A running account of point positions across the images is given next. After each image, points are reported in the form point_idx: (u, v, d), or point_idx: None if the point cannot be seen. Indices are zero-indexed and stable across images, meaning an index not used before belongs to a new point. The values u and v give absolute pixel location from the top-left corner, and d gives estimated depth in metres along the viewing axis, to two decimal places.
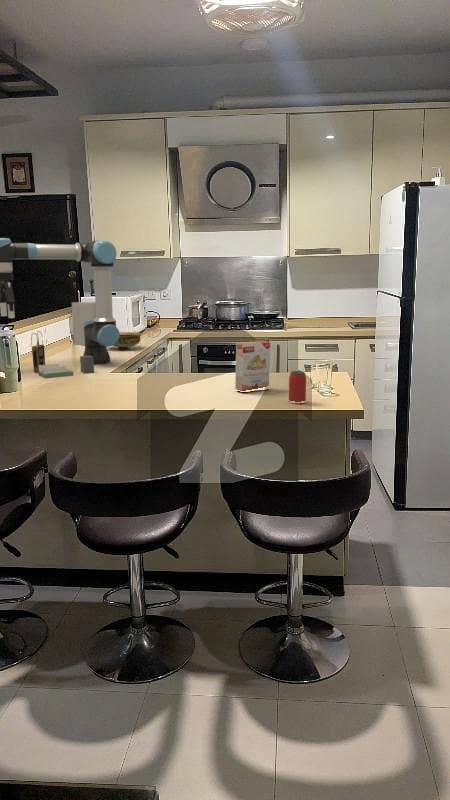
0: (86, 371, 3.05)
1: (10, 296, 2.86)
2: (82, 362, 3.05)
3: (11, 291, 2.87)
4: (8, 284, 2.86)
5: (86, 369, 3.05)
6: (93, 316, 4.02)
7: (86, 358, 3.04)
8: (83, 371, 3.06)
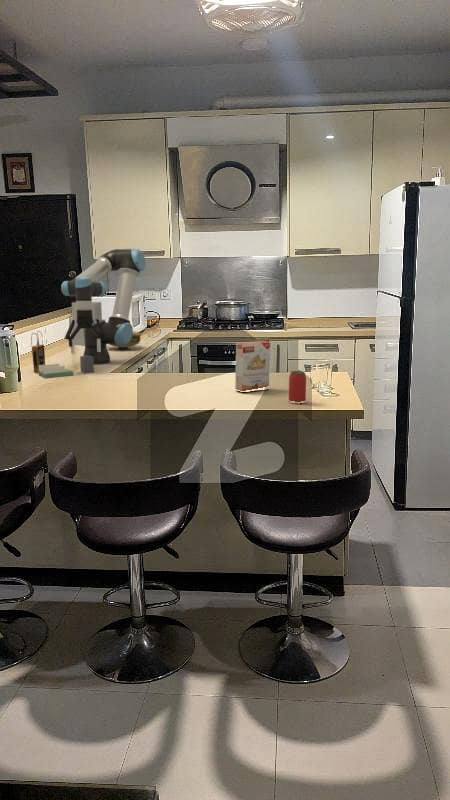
0: (86, 371, 3.05)
1: (67, 332, 2.99)
2: (82, 362, 3.05)
3: (69, 328, 2.98)
4: None
5: (86, 369, 3.05)
6: (93, 316, 4.02)
7: (86, 358, 3.04)
8: (83, 371, 3.06)
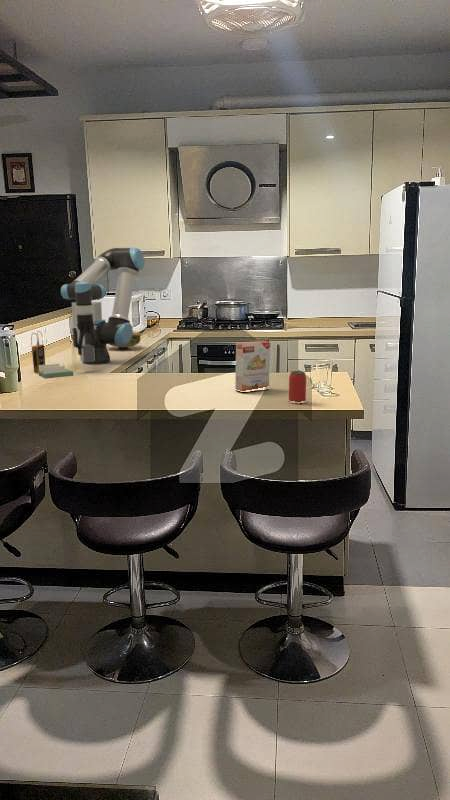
0: (86, 360, 3.04)
1: (74, 341, 3.02)
2: None
3: (74, 336, 3.01)
4: (72, 330, 3.01)
5: (87, 358, 3.04)
6: (93, 316, 4.02)
7: (86, 347, 3.03)
8: None
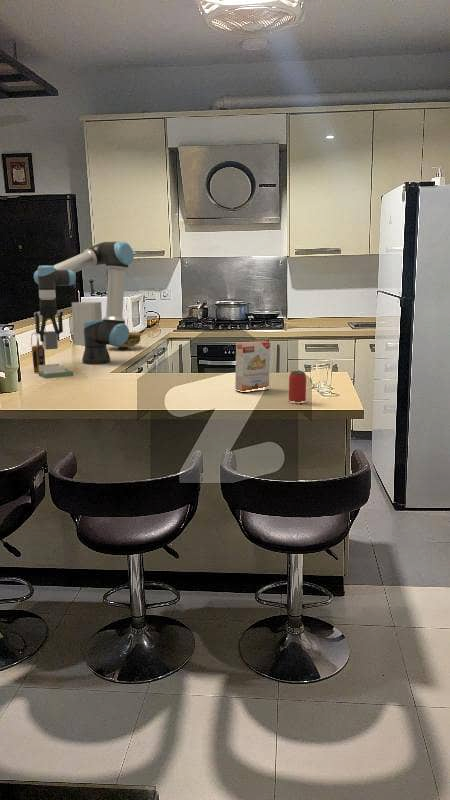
0: (49, 347, 2.92)
1: (36, 327, 2.90)
2: None
3: (36, 322, 2.89)
4: (34, 315, 2.89)
5: (49, 345, 2.92)
6: (93, 316, 4.02)
7: (48, 333, 2.91)
8: (46, 347, 2.93)
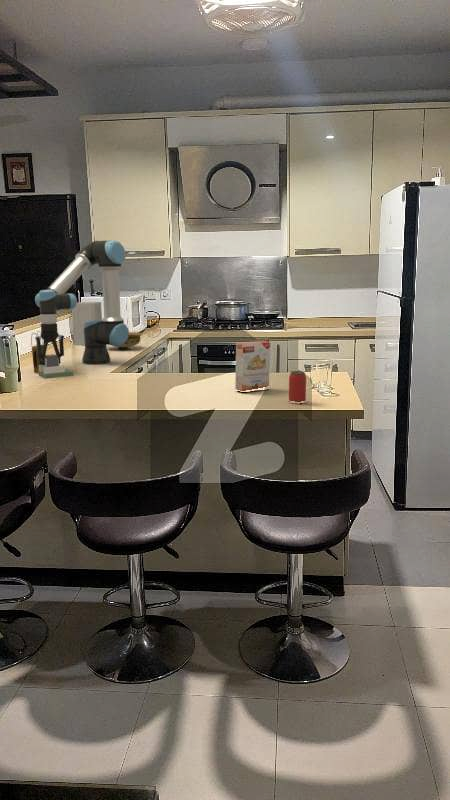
0: None
1: (37, 351, 2.93)
2: None
3: (37, 346, 2.91)
4: None
5: None
6: (93, 316, 4.02)
7: (50, 357, 2.93)
8: None
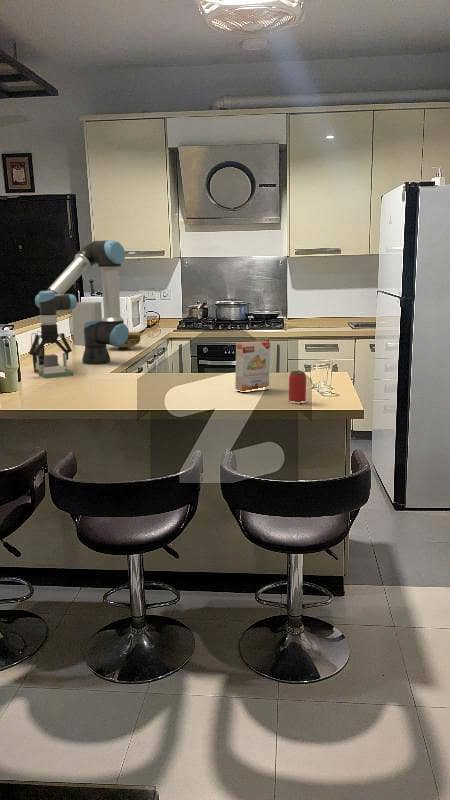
0: None
1: (31, 348, 2.91)
2: (46, 361, 2.95)
3: (33, 343, 2.90)
4: None
5: None
6: (93, 316, 4.02)
7: (50, 357, 2.93)
8: None
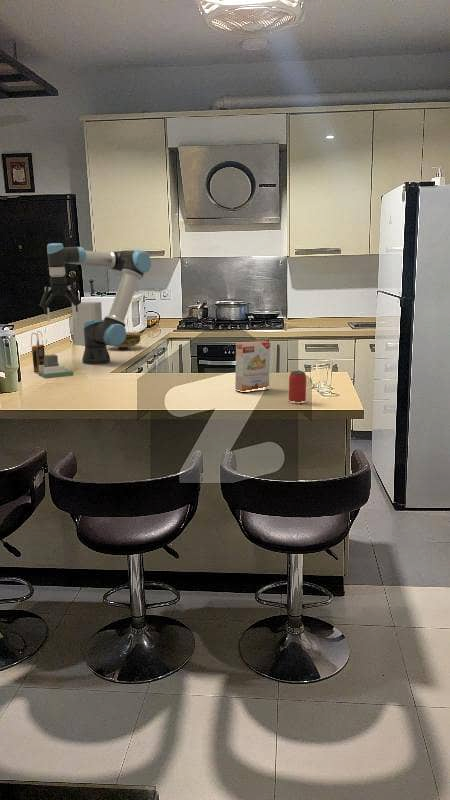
0: None
1: (41, 300, 2.97)
2: (46, 361, 2.95)
3: (44, 295, 2.96)
4: (44, 289, 2.97)
5: None
6: (93, 316, 4.02)
7: (50, 357, 2.93)
8: None
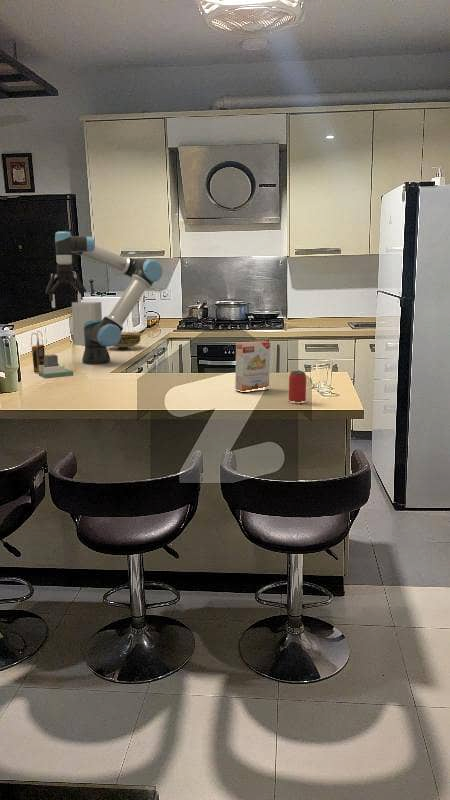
0: None
1: (47, 286, 3.03)
2: (46, 361, 2.95)
3: (50, 282, 3.03)
4: (51, 275, 3.03)
5: None
6: (93, 316, 4.02)
7: (50, 357, 2.93)
8: None
